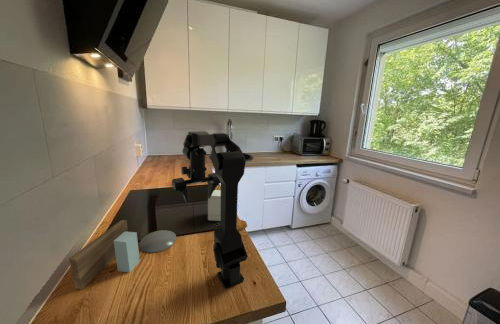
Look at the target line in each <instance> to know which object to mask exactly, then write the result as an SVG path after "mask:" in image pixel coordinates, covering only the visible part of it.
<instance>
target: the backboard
mask: <svg viewBox="0 0 500 324" xmlns="http://www.w3.org/2000/svg"><path fill="white" fill-rule="evenodd" d="M128 228H129V227H128V221H127V219H126V220H125V219H121V220H120V221H118V222H117V223H115V224H113V225H112V226H111V227H110V228H109V229H107V230H106V231H104V232H103V233H101V234H100V235H99V236H98V237H97V238H94V239H93V240H92V241H90V242H89V243H88V244H87V245H86V246H84V247H83V248H82V249H80V250H79V251H77V252H76V253H74V254H73V255H72V256H71V257H69V258H68V261H69V264H70V265H69V266H70V269H71V275H72V279H73V285H74V288H75V290H83V289H84V288H85V287H86V286H87V285H88V284H89V283H91V281H92V280H93V279H95V277H97V276H98V275H99V274H100V273H101V272H102V271H103V270H104V269H105V268H106V267H107V266H108V265H109V264H111V262H112V261H113V260H115V259H116V255H115V248H114V240H115V239H116V238H118V237H119V236H120V235H121V234H122V233H124V232H125V231H127V232H129V229H128Z"/></svg>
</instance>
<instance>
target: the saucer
mask: <svg viewBox="0 0 500 324" xmlns="http://www.w3.org/2000/svg"><path fill="white" fill-rule="evenodd" d="M176 241H177V235H176V233H175V232H174V231H171V230H166V229H165V230H164V229H161V230H156V231H152V232H150V233H148V234H146V235H145V236H143V237H142V238H141V239H140V241H139V242H138V247H139V249H140V250H141V251H142V252H144V253H149V254H153V253H154V254H155V253H160V252H163V251H166V250H168V249H170V248H171V247H172V246H173V245H174V244H175V243H176Z"/></svg>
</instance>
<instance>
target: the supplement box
mask: <svg viewBox="0 0 500 324" xmlns="http://www.w3.org/2000/svg"><path fill="white" fill-rule="evenodd" d="M220 211H221V189H219V190H218V189H217V190H216V189H215V190H214V191H213V193H212V195H211V197H210V199H208V198H207V220H208V221H212V222H213V221H215V222H220Z"/></svg>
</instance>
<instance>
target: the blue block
mask: <svg viewBox="0 0 500 324" xmlns="http://www.w3.org/2000/svg"><path fill="white" fill-rule="evenodd" d="M138 241H139V240H138V232H135V231H128V232H127V231H125V232H124V233H122V234H121V235H120V236H119V237H118V238H116V239H115V240H114V248H115V255H116V257H115V259H116V267H117V272H124V273H131V272H132V271H133V269H134V268H135V267H136V266H137V265H138V264H139V263H140V252H139V249H140V248H139V242H138Z"/></svg>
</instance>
